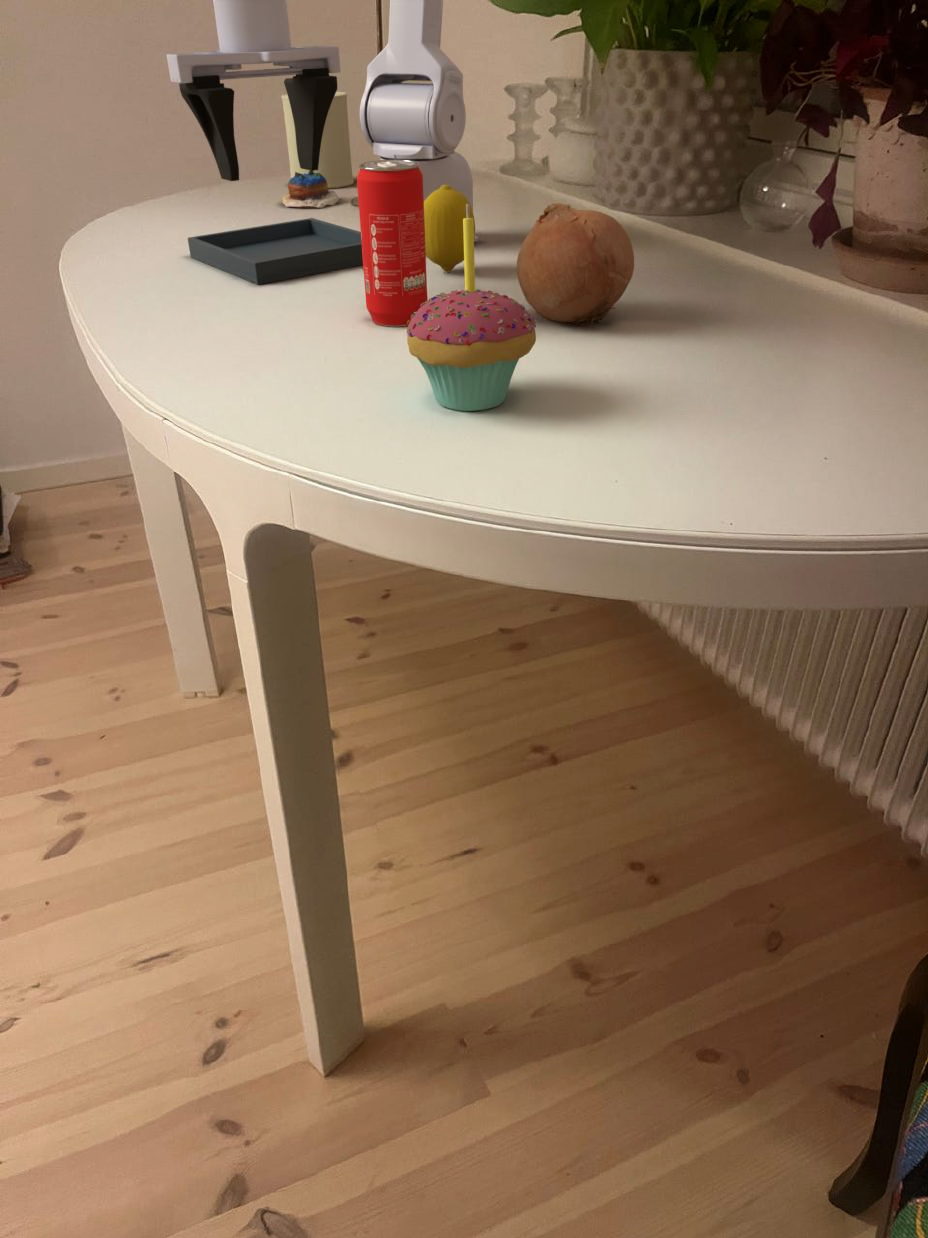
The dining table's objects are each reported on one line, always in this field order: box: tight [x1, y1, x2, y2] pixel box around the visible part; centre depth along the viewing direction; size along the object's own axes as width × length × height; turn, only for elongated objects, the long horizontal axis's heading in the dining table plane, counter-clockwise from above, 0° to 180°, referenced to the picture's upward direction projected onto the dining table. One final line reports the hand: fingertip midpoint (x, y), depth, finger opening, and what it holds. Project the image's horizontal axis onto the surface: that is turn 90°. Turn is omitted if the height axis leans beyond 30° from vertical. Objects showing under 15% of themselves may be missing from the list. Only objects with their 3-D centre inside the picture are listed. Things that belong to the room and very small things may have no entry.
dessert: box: [282, 171, 340, 209], centre depth 125 cm, size 8×7×6 cm
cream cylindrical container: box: [281, 91, 355, 190], centre depth 135 cm, size 9×9×12 cm
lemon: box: [424, 184, 476, 273], centre depth 91 cm, size 6×6×8 cm
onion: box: [516, 202, 635, 327], centre depth 77 cm, size 10×9×10 cm
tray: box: [187, 217, 363, 286], centre depth 99 cm, size 15×15×2 cm
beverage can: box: [356, 159, 429, 328], centre depth 77 cm, size 5×5×12 cm
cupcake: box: [406, 204, 537, 412], centre depth 61 cm, size 9×8×12 cm
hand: (270, 174), depth 81 cm, fingers open, 7 cm apart
